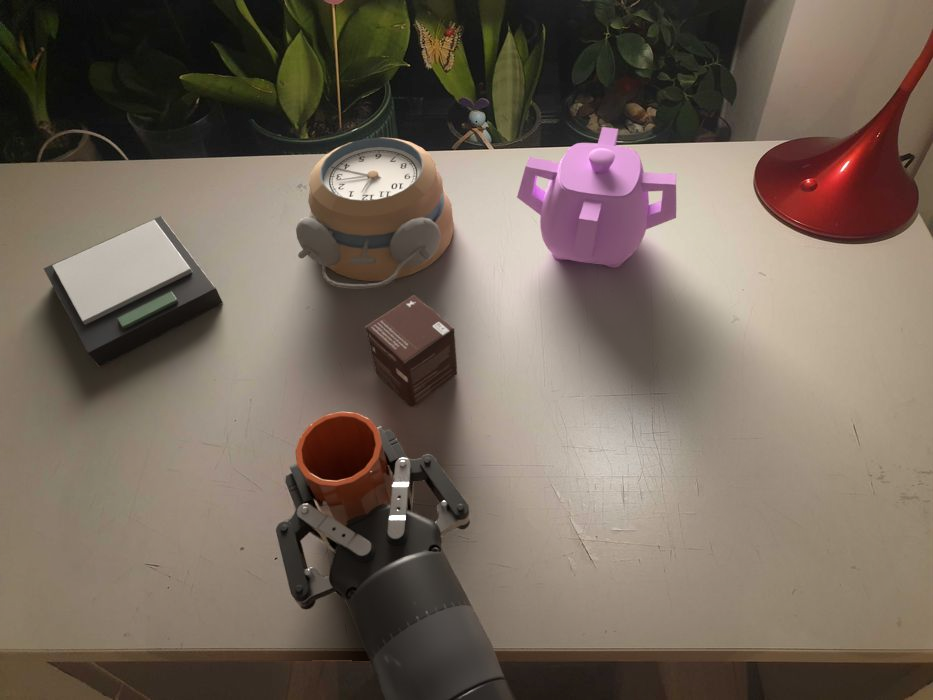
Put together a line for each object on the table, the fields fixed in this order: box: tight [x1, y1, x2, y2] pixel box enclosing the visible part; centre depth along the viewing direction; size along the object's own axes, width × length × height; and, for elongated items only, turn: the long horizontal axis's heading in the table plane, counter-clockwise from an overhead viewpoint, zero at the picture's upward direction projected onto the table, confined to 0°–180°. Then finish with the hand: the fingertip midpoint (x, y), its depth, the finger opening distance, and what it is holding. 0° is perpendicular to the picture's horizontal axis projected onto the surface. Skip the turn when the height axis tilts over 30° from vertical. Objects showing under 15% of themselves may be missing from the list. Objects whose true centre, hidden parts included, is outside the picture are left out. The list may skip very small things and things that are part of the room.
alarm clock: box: [295, 137, 455, 290], centre depth 74 cm, size 17×9×23 cm
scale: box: [43, 215, 224, 368], centre depth 74 cm, size 14×16×3 cm
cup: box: [295, 411, 394, 526], centre depth 53 cm, size 6×6×10 cm
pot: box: [516, 126, 677, 268], centre depth 72 cm, size 18×17×12 cm
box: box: [364, 294, 458, 408], centre depth 63 cm, size 6×6×7 cm
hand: (337, 451), depth 53 cm, fingers closed on cup, 6 cm apart
